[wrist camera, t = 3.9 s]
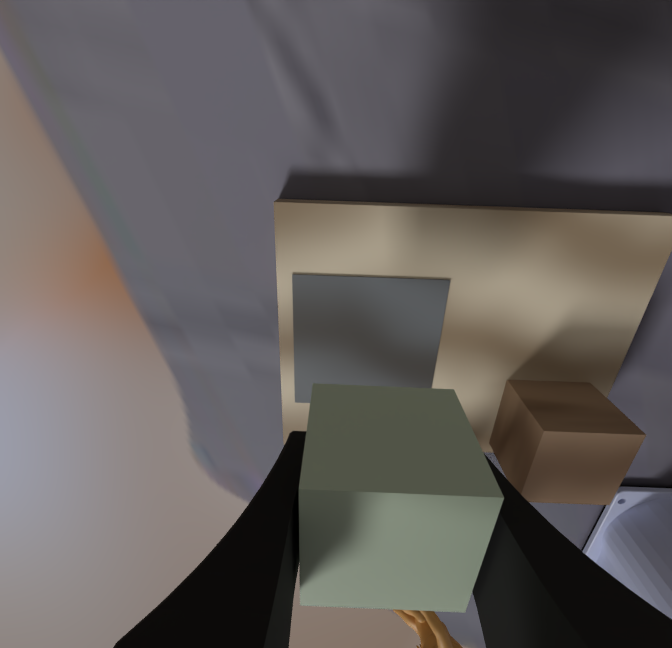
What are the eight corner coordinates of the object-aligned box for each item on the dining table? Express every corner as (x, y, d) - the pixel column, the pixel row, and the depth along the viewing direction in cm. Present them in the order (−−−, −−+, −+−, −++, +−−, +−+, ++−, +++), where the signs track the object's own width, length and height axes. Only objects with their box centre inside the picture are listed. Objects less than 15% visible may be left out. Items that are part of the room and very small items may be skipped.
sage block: (432, 488, 13) (465, 612, 10) (311, 483, 13) (300, 605, 10) (453, 389, 12) (504, 497, 8) (312, 383, 12) (298, 489, 8)
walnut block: (564, 445, 21) (609, 505, 18) (488, 442, 21) (518, 501, 18) (590, 382, 19) (646, 435, 16) (506, 379, 20) (544, 431, 16)
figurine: (331, 454, 24) (321, 709, 13) (422, 437, 23) (492, 692, 12) (361, 534, 27) (372, 789, 16) (441, 521, 26) (509, 779, 16)
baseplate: (570, 441, 23) (582, 457, 22) (286, 430, 23) (283, 445, 22) (664, 212, 17) (688, 216, 16) (278, 198, 17) (273, 202, 16)
